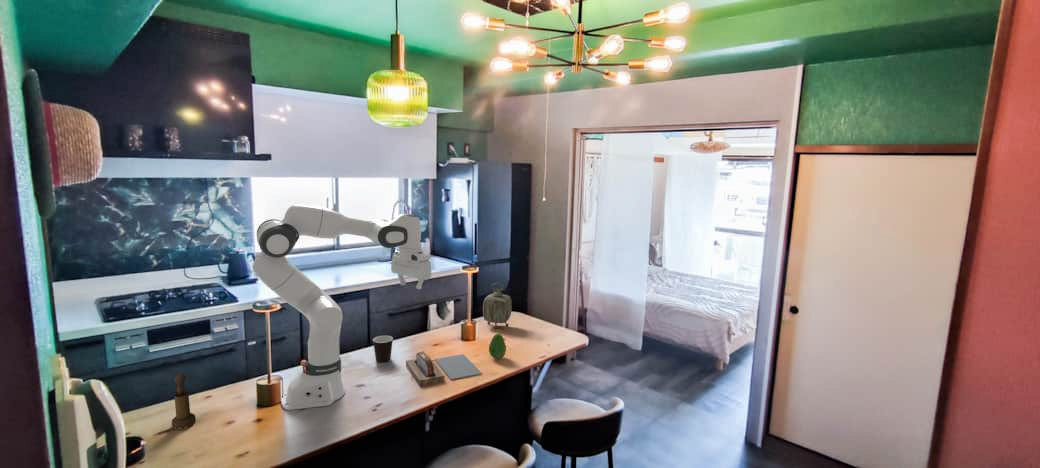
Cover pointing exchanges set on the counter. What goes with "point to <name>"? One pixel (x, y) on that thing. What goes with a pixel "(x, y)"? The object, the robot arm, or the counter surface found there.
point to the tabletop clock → (497, 307)
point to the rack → (420, 376)
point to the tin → (425, 364)
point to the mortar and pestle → (182, 406)
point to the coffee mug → (383, 348)
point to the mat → (457, 367)
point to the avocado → (497, 347)
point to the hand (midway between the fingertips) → (410, 286)
